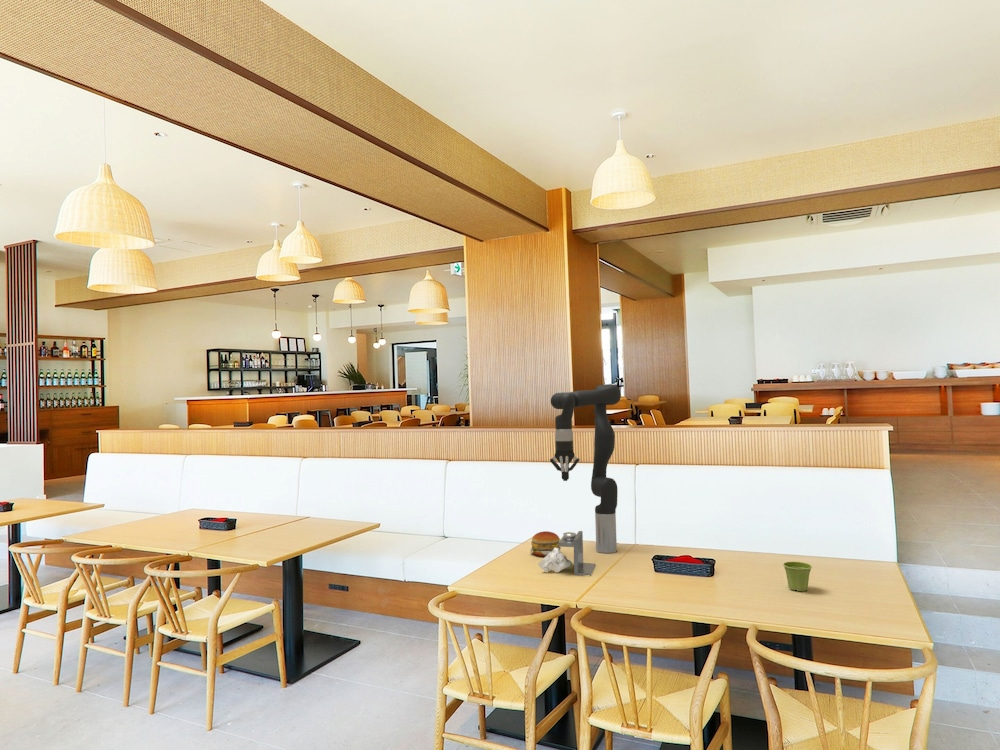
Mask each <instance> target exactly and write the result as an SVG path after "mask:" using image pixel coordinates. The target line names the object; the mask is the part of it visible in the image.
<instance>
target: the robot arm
mask: <svg viewBox="0 0 1000 750" xmlns="http://www.w3.org/2000/svg"><path fill="white" fill-rule="evenodd" d="M621 392H622V391H621V389H620V388H619V387H618V386H617V385H614V384H599V385H597V386H596V387H595V389H584V390H576V391H570V392H568V391H567V392H556V393H554V394H553V395H552V396H551V398H550V404H551V407H552V408H553V409H556V410H562V411H561V414H558V415H556V416H555V420H554V421H555V433H554V441H555V442H554V444H555V453H554V456H553V457H551V458H550V459H549V461H550V463H551V464H552V465H553V466H554V468H555V469H556V470H557V471H559V472H561V479H562V480H563V482H567V481H569V479H570V473H569V472H571V471H572V470H574V469H575V468H576V466H577V464H579V462H580V461H581V459H580V458H578V457H577V456H575V453H574V433H573V420H572V419H573V417H574V412H575V408H582V407H587V406H594V438H593V439H594V440H593V441H594V442H593V445H594V447H593V450H594V451H593V466H592V473H591V474H592V475H591V482H590V490H591V493H592V494H593V495H594V496H596V497H598V498H600V502H599V504H597V505H596V506H595V507H594V515H595V516H594V517H595V546H596V547H595V551H596V552H598V553H601V554H614V553H616V552H617V549H618V547H617V516H616V515H617V513H616V511H617V507H618V483H617V482H616V480H615V479H614V478H611V477H608V476H607V467H608V463H609V462H610V459H611V457H612V456H613V453H614V450H615V444H616V443H615V441H616V440H615V437H616V435H615V431H614V429H613V426H612V424H611V422H610V421H609V417H608V414H607V413H608V412H607V406H614V405H616V404H618V403H619V402H620V401H621V397H622V393H621ZM572 461H573V462H572ZM557 462H558V463H559V464H560V465H559V464H558V463H557ZM571 462H572V464H571V466H570V463H571Z"/></svg>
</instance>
